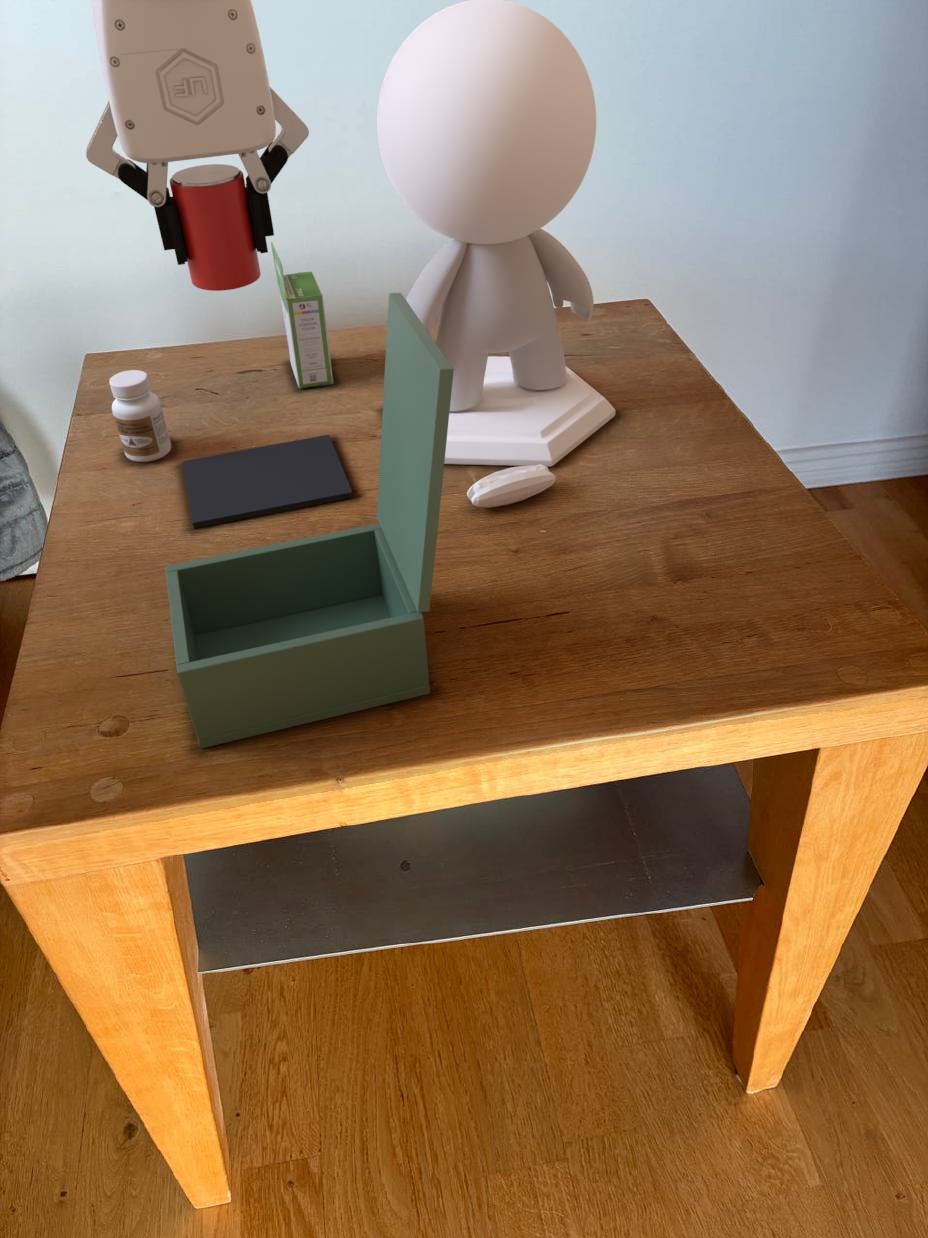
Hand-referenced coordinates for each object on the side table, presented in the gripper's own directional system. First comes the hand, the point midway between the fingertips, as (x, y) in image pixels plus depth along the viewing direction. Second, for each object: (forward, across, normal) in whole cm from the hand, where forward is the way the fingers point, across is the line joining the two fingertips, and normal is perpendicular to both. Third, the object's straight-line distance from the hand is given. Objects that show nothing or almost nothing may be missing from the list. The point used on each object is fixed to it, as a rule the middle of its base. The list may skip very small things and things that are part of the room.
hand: (221, 249), depth 70 cm
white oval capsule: (+23, +20, -5) cm, 31 cm away
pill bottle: (+23, -10, +15) cm, 29 cm away
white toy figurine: (+23, +24, +10) cm, 35 cm away
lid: (+7, +8, -20) cm, 23 cm away
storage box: (+23, -1, -20) cm, 31 cm away
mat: (+23, 0, +6) cm, 24 cm away
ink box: (+23, +8, +26) cm, 36 cm away
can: (+2, 0, 0) cm, 2 cm away
